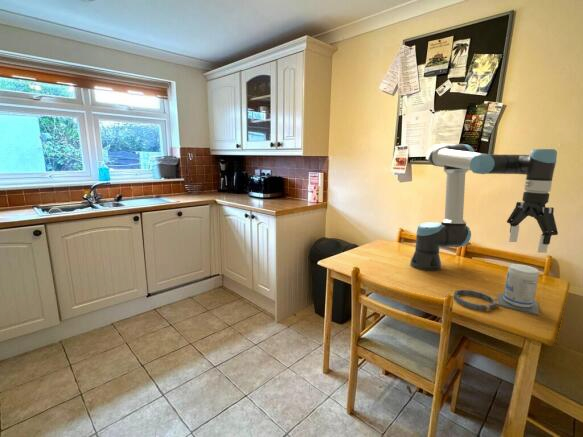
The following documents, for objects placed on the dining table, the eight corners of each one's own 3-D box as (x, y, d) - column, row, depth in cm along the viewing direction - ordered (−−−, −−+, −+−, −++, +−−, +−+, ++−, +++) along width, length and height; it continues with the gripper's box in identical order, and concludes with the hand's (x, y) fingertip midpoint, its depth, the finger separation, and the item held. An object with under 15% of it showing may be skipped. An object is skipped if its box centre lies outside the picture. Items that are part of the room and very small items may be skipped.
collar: (451, 303, 118) (451, 298, 118) (457, 291, 129) (457, 286, 129) (496, 315, 109) (497, 310, 109) (498, 301, 120) (499, 296, 120)
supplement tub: (497, 297, 123) (502, 263, 120) (520, 297, 123) (525, 263, 120) (514, 308, 113) (521, 272, 110) (539, 308, 113) (546, 272, 110)
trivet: (496, 305, 117) (496, 303, 117) (498, 293, 127) (498, 292, 127) (538, 315, 109) (539, 314, 109) (537, 302, 120) (537, 301, 119)
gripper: (501, 188, 122) (493, 237, 126) (558, 196, 97) (545, 257, 102) (519, 188, 122) (510, 238, 126) (579, 196, 98) (566, 257, 102)
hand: (526, 246), depth 114 cm, fingers open, 13 cm apart
